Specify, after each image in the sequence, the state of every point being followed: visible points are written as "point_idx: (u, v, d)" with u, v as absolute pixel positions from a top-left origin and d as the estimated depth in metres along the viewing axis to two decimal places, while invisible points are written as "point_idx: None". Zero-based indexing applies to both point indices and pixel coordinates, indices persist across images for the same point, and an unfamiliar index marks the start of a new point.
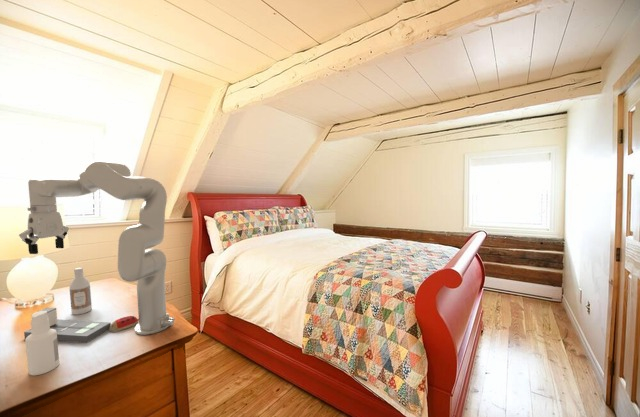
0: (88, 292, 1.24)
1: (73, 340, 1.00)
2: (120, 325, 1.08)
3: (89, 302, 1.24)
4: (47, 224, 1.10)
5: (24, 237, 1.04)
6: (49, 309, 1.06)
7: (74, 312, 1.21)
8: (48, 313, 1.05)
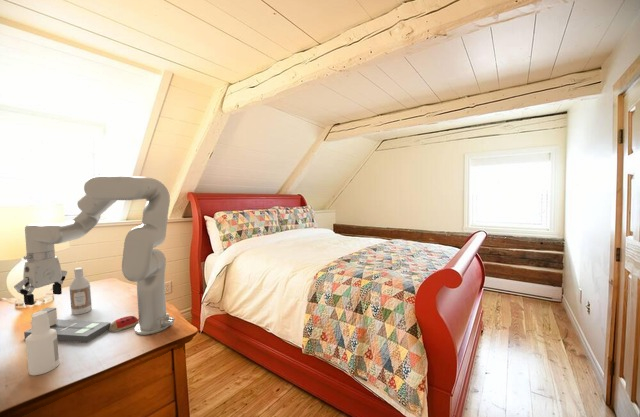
0: (88, 292, 1.24)
1: (73, 340, 1.00)
2: (120, 325, 1.08)
3: (89, 302, 1.24)
4: (44, 272, 1.03)
5: (19, 288, 0.97)
6: (49, 309, 1.06)
7: (74, 312, 1.21)
8: (48, 313, 1.05)
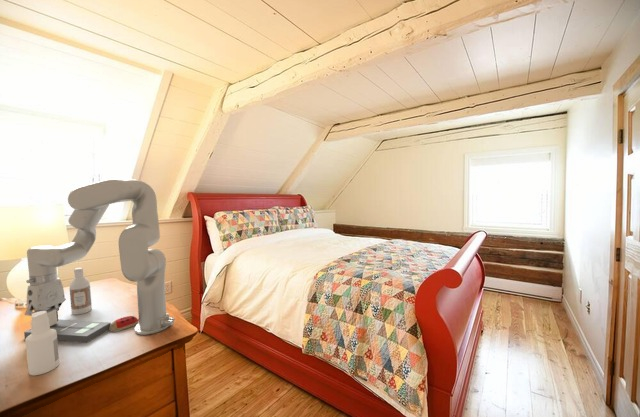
0: (88, 292, 1.24)
1: (73, 340, 1.00)
2: (119, 325, 1.08)
3: (89, 302, 1.24)
4: (47, 294, 1.04)
5: (31, 314, 1.01)
6: (49, 309, 1.06)
7: (74, 312, 1.21)
8: (48, 313, 1.05)
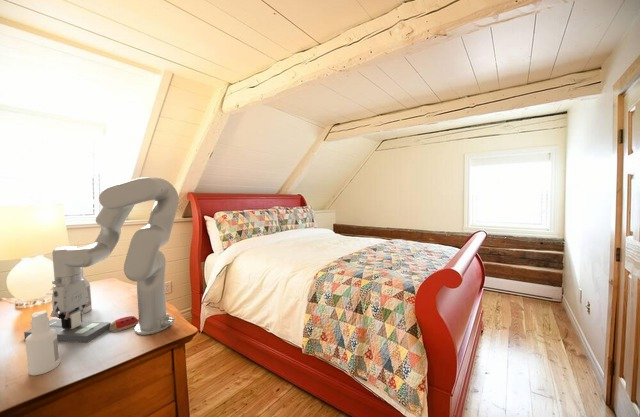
0: (88, 292, 1.24)
1: (73, 340, 1.00)
2: (119, 325, 1.08)
3: (89, 302, 1.24)
4: (72, 296, 1.03)
5: (57, 315, 0.99)
6: (73, 310, 1.05)
7: None
8: (73, 314, 1.04)
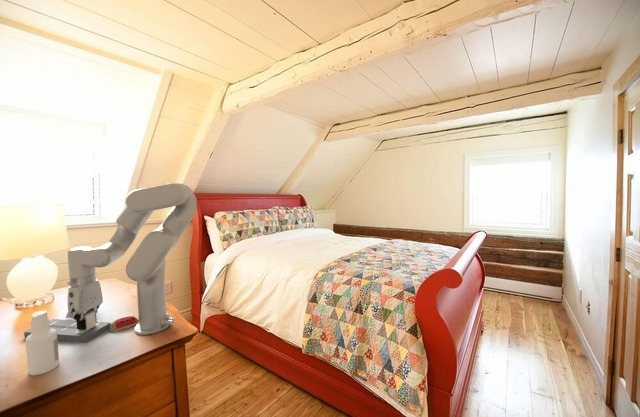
0: None
1: (73, 340, 1.00)
2: (119, 325, 1.07)
3: None
4: (87, 296, 1.02)
5: (72, 316, 0.99)
6: (88, 311, 1.04)
7: (74, 312, 1.21)
8: (88, 315, 1.03)
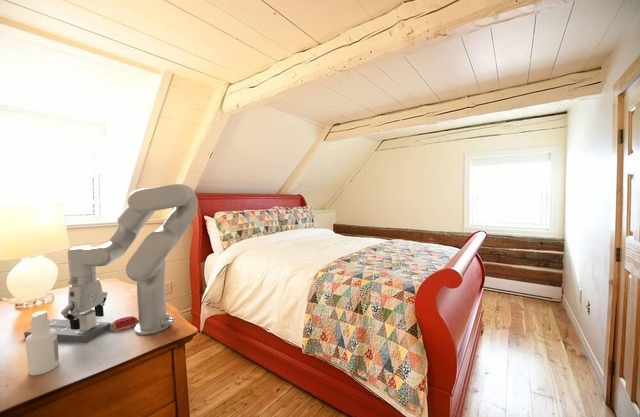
0: None
1: (73, 340, 1.00)
2: (118, 325, 1.07)
3: None
4: (88, 295, 1.02)
5: (66, 314, 0.96)
6: (88, 311, 1.04)
7: None
8: (88, 315, 1.03)
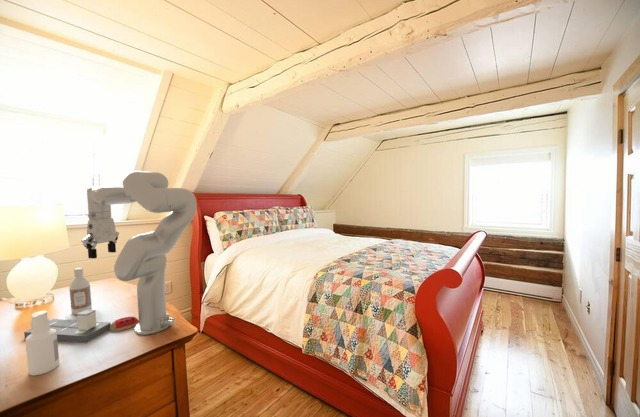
0: (88, 292, 1.24)
1: (73, 340, 1.00)
2: (118, 325, 1.07)
3: (89, 302, 1.24)
4: (104, 230, 1.15)
5: (86, 242, 1.10)
6: (88, 311, 1.04)
7: (74, 312, 1.21)
8: (88, 315, 1.03)
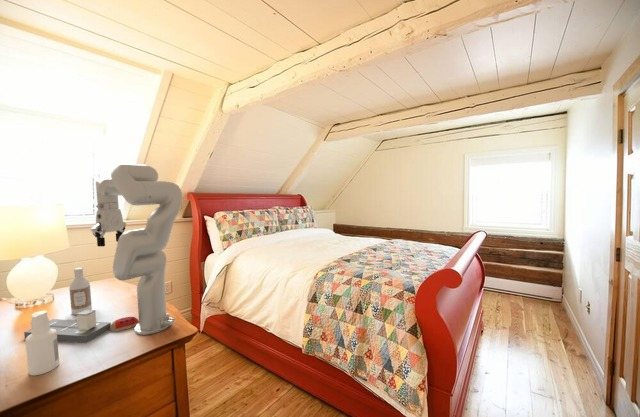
0: (88, 292, 1.24)
1: (73, 340, 1.00)
2: (118, 325, 1.07)
3: (89, 302, 1.24)
4: (112, 220, 1.22)
5: (95, 231, 1.17)
6: (88, 311, 1.04)
7: (74, 312, 1.21)
8: (88, 315, 1.03)
